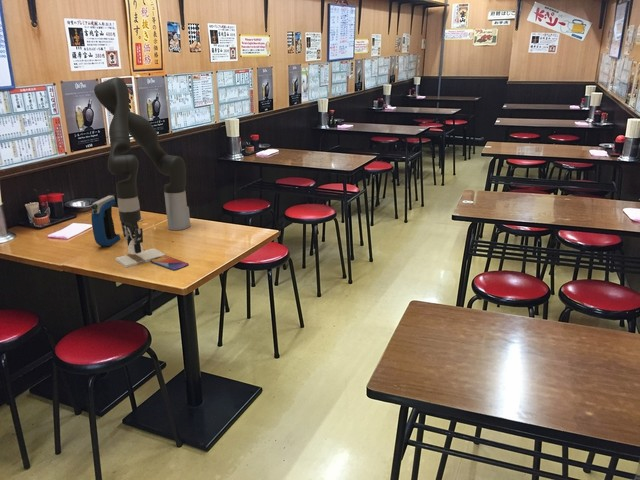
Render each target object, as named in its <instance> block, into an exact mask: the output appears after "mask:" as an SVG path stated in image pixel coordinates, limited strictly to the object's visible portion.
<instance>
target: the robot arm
mask: <svg viewBox="0 0 640 480" xmlns="http://www.w3.org/2000/svg"><path fill="white" fill-rule="evenodd" d="M93 88H94V89H93V91H94V95H95V96H96V99H97V100H98V101H99V103H100V104H101V105H102V106H103V107H104V108H105V109H106V110H107V111H108V112H109V113H110V114H111V115H112V116H113V117H112V119H111V122H110V124H109V129H108V137H109V144H110V145H109V146H110V147H109V148H110V150H109V155H108V160H107V170H108V172H109V173H110V174H111V175H113V176H122V175H129V176H128V177H127V178H126V179H123V180H119V181H117V182H116V184H115V187H116V188H115V190H116V196H117V202H118V204H117V208H118V214H119V215H118V216H119V221H120V225H121V229H122V234H123V238H125V239H126V244H127V247H128V246H129V243H130V241H131V240H132V239H133V242H134V249H135V253H140V252H141V245H142V243H144V240H143V239H144V238H143V237H144V234H143V233H144V232H143V228H142V227H139V224H138V223H139V222H138V221H139V220H141V217H142V216H141V208H140V200H139V197H138V189H137V188H138V187H137V177H138V172H139V171H138V170H139V166H140V165H139V164H140V162H139V159H138V157H137V156H136V155H134V154H125V153H128V152H129V151H131V148H132V145H131V144H132V143H131V138H130V137H132V138H133V140H134V141H135V142H136V143H137V144H138V145H139V146H140V148H141V149H142V150H143V151H144V152H145V154H146V155H147V157H149V159H150V160H151V161H152V163H153V165H154V166H155V167H156V169H157V170H158V172H159V173H160V174H162V175H163V176H166V177H169V183H165V184H164V185H163V193H164V202H165V210H166V212H165V213H166V220H167V228H168V229H169V230H171V231H182V230H185V229H188V228H190V227H191V218H190V217H191V216H190V206H188V203H187V194H186V192H187V191H186V185H187V168H186V163H185V159H183V157H182V156H178V155H171V154H168V153H167V152H166V151H165V150H164V149H163V147H162V146H161V145H160V142H159V135H158V131H157V130H156V129H155V128H154V126H153V125H152V124H151V122H149V120H148V119H146V118H145V117H143V116H141V115H139V114H138V113H135V112H132V111H131V110H130V90H129V88H128V85H127V84H126V82H125V80H124V79H122V78H121V77H118V76H115V77H113V78H110V79H106V80H105V81H102V82H100V83H98V84H96V85H95V86H94V87H93ZM140 244H141V245H140Z"/></svg>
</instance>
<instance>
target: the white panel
mask: <svg viewBox="0 0 640 480" xmlns="http://www.w3.org/2000/svg"><path fill="white" fill-rule="evenodd" d="M165 255H166V254H165V253H163V252H161V251H160V250H158V249H156V248H155V247H154V248H150V249H146V250H143V251H142V252H141V253H138V254H130V253H128V254H126V255H122V256H118V257H115V258H114V260H115V262H117V263H119V264H120V265H121V266H123V267H125V268H130V267H134V266H137V265H141V264H144V263H148V262H150V260H152V259H155V258H158V257H161V256H165Z"/></svg>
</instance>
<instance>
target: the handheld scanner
mask: <svg viewBox="0 0 640 480" xmlns="http://www.w3.org/2000/svg"><path fill="white" fill-rule="evenodd" d="M115 205H117V206H118V197H117V193H116V194H114V193H107V194H106V196H105V197H102V198H100V199H99V200H97V201H94V202H93V203H92V206H91V209H92V210H91V216H90V217H91V225H92V226H91V227H92V228H91V229H92V232H93V238H94V241H95V243H96V244H97V245H98V246H100V247H112V246H113V245H115V244H116V243H117V242H119V241H120V240H121V235H120V234H117V233H116V230H115V224H114V219H113V215H112V214H113V213H112V211H113V210H112V209H113V208H112V207H114V206H115Z"/></svg>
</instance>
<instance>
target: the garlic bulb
mask: <svg viewBox="0 0 640 480" xmlns="http://www.w3.org/2000/svg"><path fill="white" fill-rule="evenodd" d="M140 245H141V252H142V251H144V247H143V245H142V243H140ZM127 252H128V254H138V253H135V249H134V242H133V239H132V240H131V241H130V243H129V246H128V245H127ZM141 252H140V253H141Z"/></svg>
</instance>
